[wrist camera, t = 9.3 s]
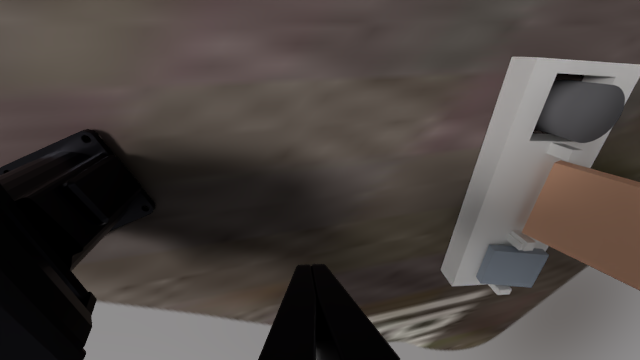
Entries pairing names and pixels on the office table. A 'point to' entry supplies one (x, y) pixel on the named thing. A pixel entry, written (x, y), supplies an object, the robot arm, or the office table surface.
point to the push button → (581, 110)
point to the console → (520, 162)
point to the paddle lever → (590, 219)
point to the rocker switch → (511, 266)
